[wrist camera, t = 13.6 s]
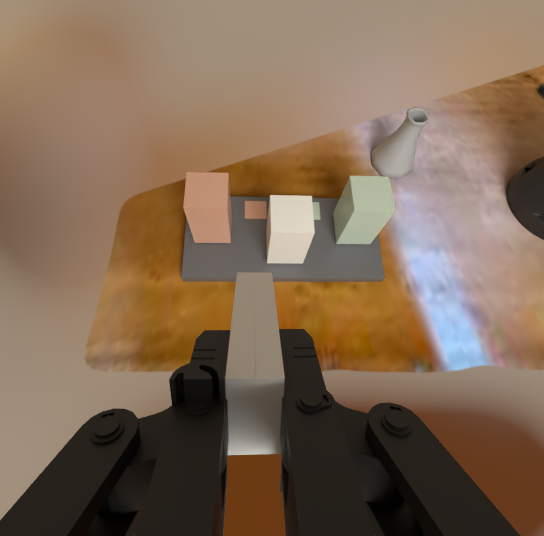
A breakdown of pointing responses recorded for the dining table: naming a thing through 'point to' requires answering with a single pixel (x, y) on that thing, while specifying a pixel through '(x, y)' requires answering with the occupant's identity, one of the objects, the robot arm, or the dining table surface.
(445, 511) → the robot arm
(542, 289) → the dining table surface
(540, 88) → the phone
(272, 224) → the cream tall block
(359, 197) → the pale green tall block
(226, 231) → the pink tall block
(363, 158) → the dining table surface
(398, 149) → the flask
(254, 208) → the grey board
